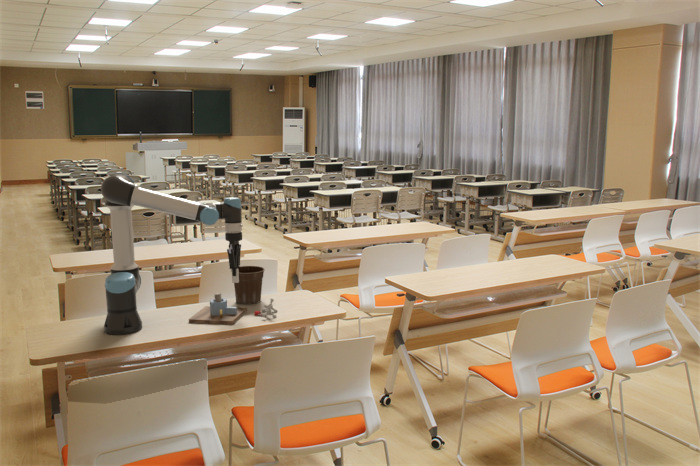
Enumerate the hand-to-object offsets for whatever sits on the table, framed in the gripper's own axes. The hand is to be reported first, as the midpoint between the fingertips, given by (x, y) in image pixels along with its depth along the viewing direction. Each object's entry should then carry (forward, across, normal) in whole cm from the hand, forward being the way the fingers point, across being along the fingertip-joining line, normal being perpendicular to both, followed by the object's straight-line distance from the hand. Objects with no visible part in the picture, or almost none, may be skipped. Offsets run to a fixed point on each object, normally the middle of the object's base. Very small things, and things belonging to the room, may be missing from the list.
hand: (235, 282), depth 271 cm
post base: (+14, -7, +6) cm, 17 cm away
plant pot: (+15, +19, 0) cm, 24 cm away
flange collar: (+13, -7, +4) cm, 15 cm away
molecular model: (+15, -1, -15) cm, 21 cm away
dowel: (+13, -13, +3) cm, 18 cm away
